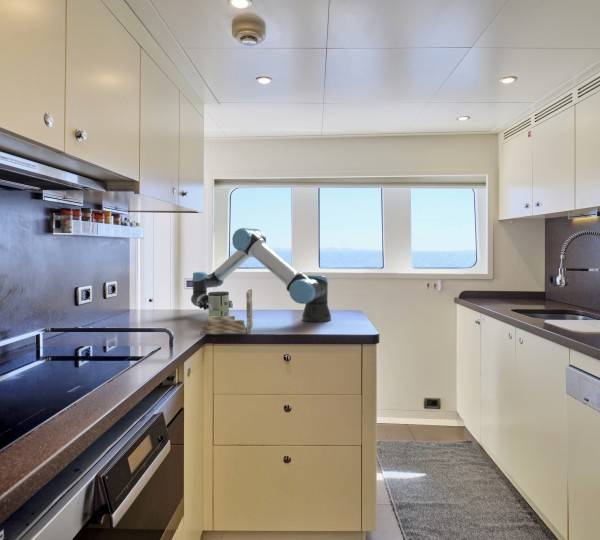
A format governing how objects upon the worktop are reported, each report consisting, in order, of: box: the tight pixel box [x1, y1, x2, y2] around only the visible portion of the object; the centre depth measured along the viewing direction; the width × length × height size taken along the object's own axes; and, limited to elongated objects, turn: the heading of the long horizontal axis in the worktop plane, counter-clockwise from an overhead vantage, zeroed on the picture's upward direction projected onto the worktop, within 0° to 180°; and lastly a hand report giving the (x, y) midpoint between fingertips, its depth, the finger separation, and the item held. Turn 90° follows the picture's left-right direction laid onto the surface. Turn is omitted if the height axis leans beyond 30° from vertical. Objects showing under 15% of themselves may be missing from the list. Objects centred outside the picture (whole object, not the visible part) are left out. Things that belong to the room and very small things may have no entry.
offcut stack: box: [200, 315, 246, 331], centre depth 183 cm, size 19×2×6 cm, turn 93°
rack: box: [199, 288, 254, 334], centre depth 190 cm, size 22×16×18 cm
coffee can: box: [207, 291, 230, 316], centre depth 209 cm, size 10×10×14 cm
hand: (222, 306), depth 205 cm, fingers closed on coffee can, 10 cm apart
